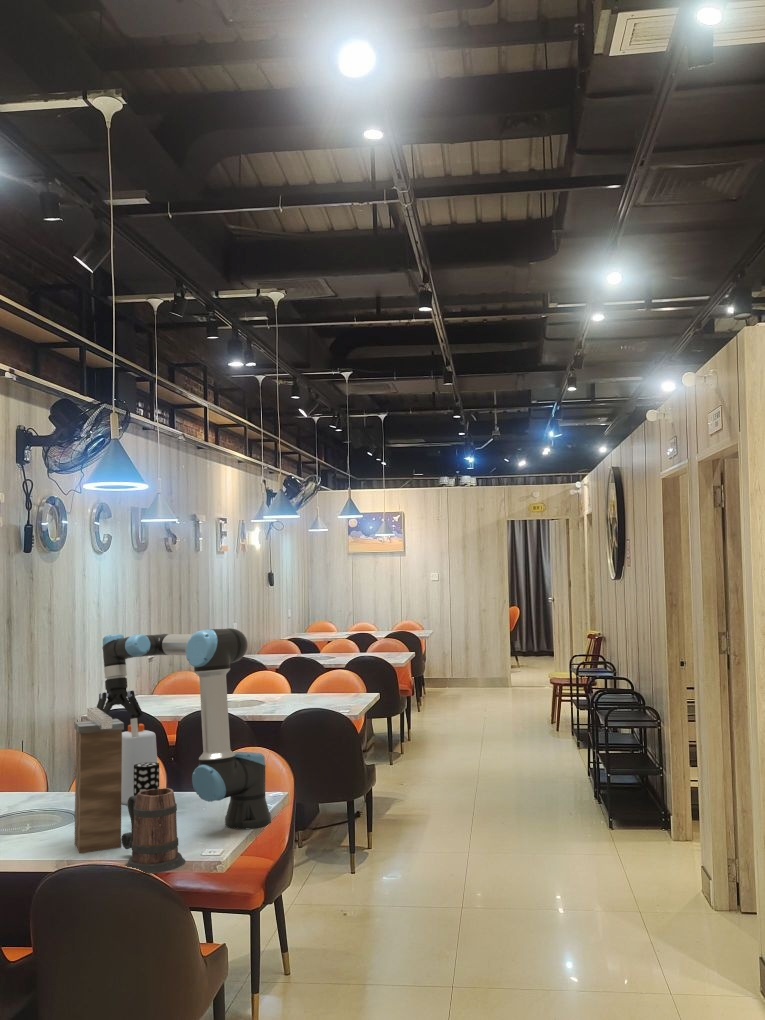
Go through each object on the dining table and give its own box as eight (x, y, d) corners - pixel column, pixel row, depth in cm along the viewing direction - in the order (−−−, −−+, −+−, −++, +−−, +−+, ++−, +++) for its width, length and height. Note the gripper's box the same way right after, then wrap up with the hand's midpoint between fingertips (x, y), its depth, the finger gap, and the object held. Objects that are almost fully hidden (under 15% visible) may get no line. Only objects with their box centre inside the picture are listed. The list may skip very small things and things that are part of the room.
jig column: (72, 843, 265) (74, 721, 269) (115, 837, 270) (116, 718, 274) (77, 853, 253) (79, 726, 257) (122, 847, 259) (123, 723, 263)
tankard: (197, 862, 242) (197, 789, 244) (147, 877, 229) (147, 801, 231) (148, 848, 257) (149, 780, 259) (98, 862, 244) (99, 790, 246)
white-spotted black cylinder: (151, 821, 289) (151, 761, 291) (163, 825, 283) (164, 764, 285) (128, 826, 283) (129, 765, 285) (141, 831, 277) (141, 768, 279)
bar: (87, 717, 279) (87, 708, 280) (96, 716, 281) (96, 707, 281) (101, 729, 251) (101, 718, 251) (112, 728, 252) (112, 718, 252)
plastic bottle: (163, 799, 322) (163, 724, 325) (126, 806, 312) (126, 728, 315) (144, 793, 333) (144, 720, 336) (107, 800, 323) (108, 725, 326)
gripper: (135, 678, 317) (140, 736, 312) (79, 681, 296) (83, 743, 291) (149, 675, 313) (154, 734, 308) (94, 678, 293) (98, 741, 288)
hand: (120, 739), depth 300 cm, fingers open, 13 cm apart
